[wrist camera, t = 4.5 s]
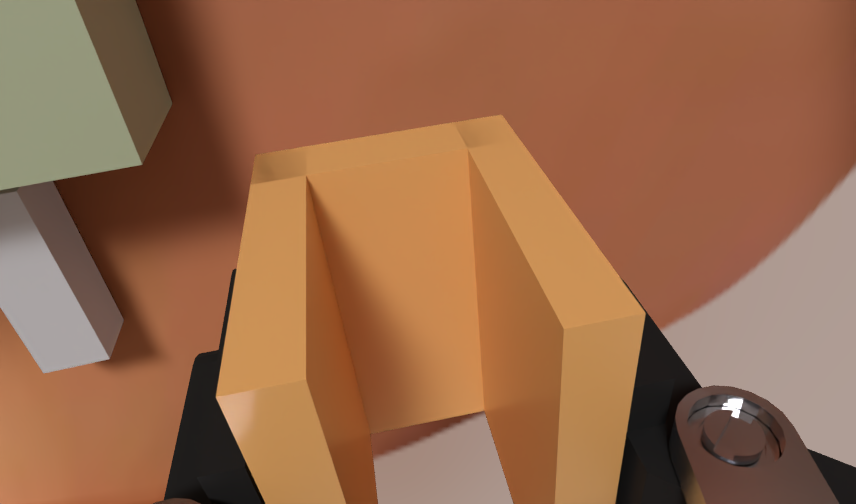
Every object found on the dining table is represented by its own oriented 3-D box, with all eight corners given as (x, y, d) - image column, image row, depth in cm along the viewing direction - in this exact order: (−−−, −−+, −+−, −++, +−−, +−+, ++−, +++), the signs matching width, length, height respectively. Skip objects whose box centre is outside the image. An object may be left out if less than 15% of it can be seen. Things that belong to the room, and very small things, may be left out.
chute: (501, 114, 10) (646, 312, 5) (508, 368, 13) (598, 604, 9) (254, 154, 9) (215, 397, 5) (329, 404, 13) (340, 665, 9)
